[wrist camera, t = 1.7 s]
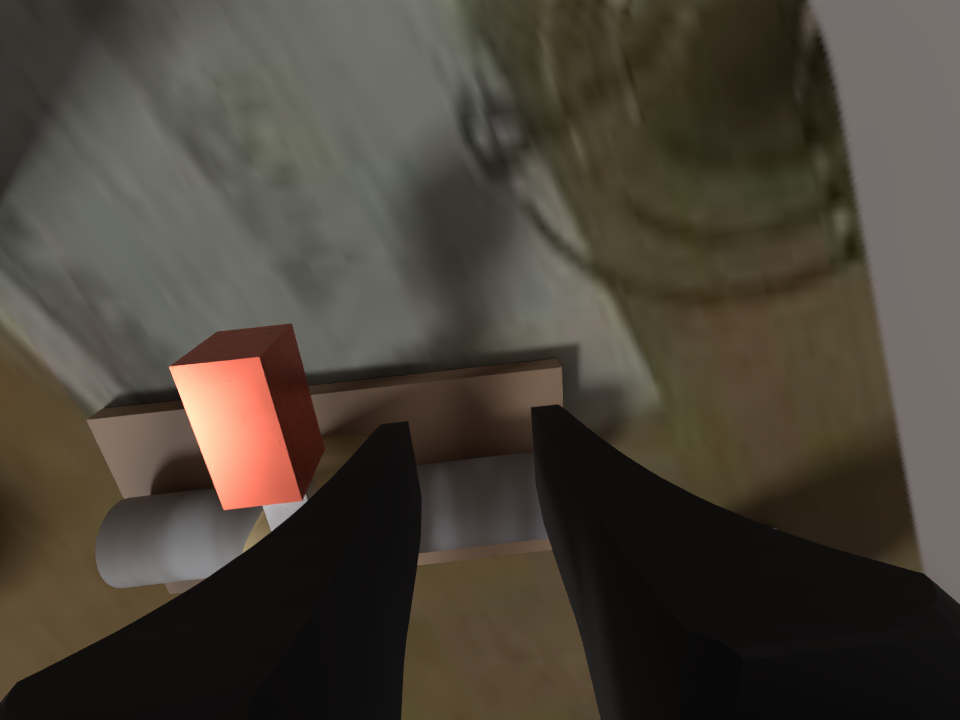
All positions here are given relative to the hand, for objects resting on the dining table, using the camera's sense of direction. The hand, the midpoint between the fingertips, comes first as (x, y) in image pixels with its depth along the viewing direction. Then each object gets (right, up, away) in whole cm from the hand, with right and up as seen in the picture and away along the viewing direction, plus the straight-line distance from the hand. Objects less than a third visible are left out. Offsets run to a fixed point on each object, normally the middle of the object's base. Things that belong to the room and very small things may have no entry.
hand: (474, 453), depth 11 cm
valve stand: (-6, -4, +12) cm, 14 cm away
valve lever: (-6, -2, +6) cm, 8 cm away
